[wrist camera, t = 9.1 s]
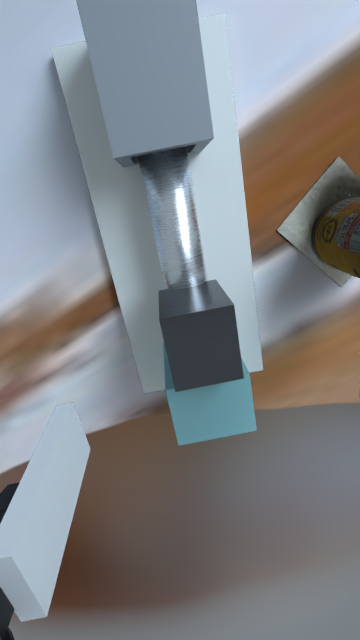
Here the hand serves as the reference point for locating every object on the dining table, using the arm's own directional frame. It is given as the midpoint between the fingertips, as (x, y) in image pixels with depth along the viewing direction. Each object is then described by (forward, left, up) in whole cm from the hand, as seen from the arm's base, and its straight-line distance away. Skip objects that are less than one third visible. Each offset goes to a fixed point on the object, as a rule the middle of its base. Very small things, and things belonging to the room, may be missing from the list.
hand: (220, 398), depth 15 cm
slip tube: (-3, 0, -14) cm, 14 cm away
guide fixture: (-5, 0, -16) cm, 17 cm away
